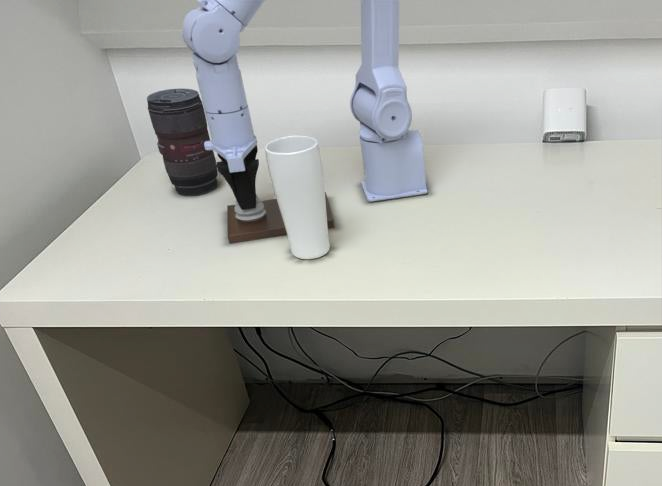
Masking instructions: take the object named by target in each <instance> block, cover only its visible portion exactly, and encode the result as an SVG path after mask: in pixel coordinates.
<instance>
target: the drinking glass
mask: <svg viewBox="0 0 662 486" xmlns="http://www.w3.org/2000/svg"><path fill="white" fill-rule="evenodd" d="M264 152H265V159H266V163H267V170H268V174H269V177H270V182H271V185H272V189H273V192H274V196H275V199H277V202H278V206H279V209H280V212H281V215H282V219H283V222H284V225H285V229H286V232H287V235H286V236H287V239H288V243H289V249H290V252H291V254H292V256H294V257H295V258H298V259H302V260H313V259H318V258H321V257H323V256H324V255H326V254H328V252H329V251H330V248H331V242H330V237H329V236H330V235H329V229H328V226H327V214H326V201H325V192H326V190H325V189H326V188H325V176H324V168H323V162H322V161H323V160H322V156H321V151H320V147H319V142H318V140H317V139H316V138H314V137H313V136H308V135H289V136H282V137H279V138H275V139H273V140H270V141H269V142H268V143H267V144H266V145H265V146H264Z"/></svg>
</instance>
